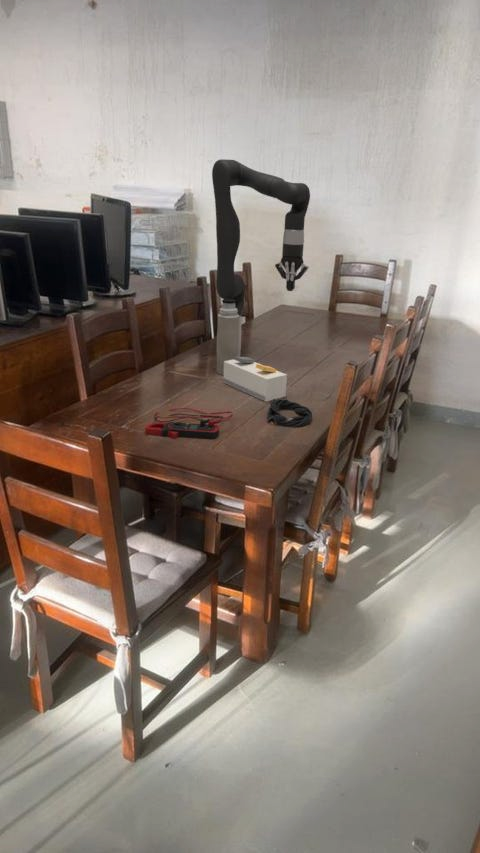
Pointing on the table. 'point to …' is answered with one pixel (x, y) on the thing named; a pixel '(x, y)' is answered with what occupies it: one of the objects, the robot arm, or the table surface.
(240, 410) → the table surface
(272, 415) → the cable
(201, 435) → the digital clamp meter
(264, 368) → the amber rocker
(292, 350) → the table surface
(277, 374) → the switch box
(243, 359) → the flat grey slab box
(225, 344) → the thermos bottle
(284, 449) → the table surface
